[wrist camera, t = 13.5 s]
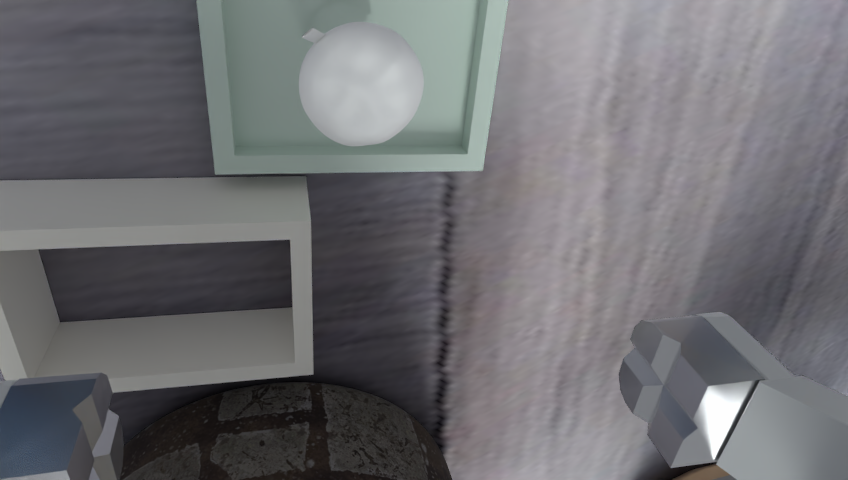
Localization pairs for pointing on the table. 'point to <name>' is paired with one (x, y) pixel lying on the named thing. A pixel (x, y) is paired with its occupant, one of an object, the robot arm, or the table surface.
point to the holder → (152, 225)
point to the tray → (280, 100)
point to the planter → (285, 438)
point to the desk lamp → (706, 474)
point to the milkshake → (357, 76)
